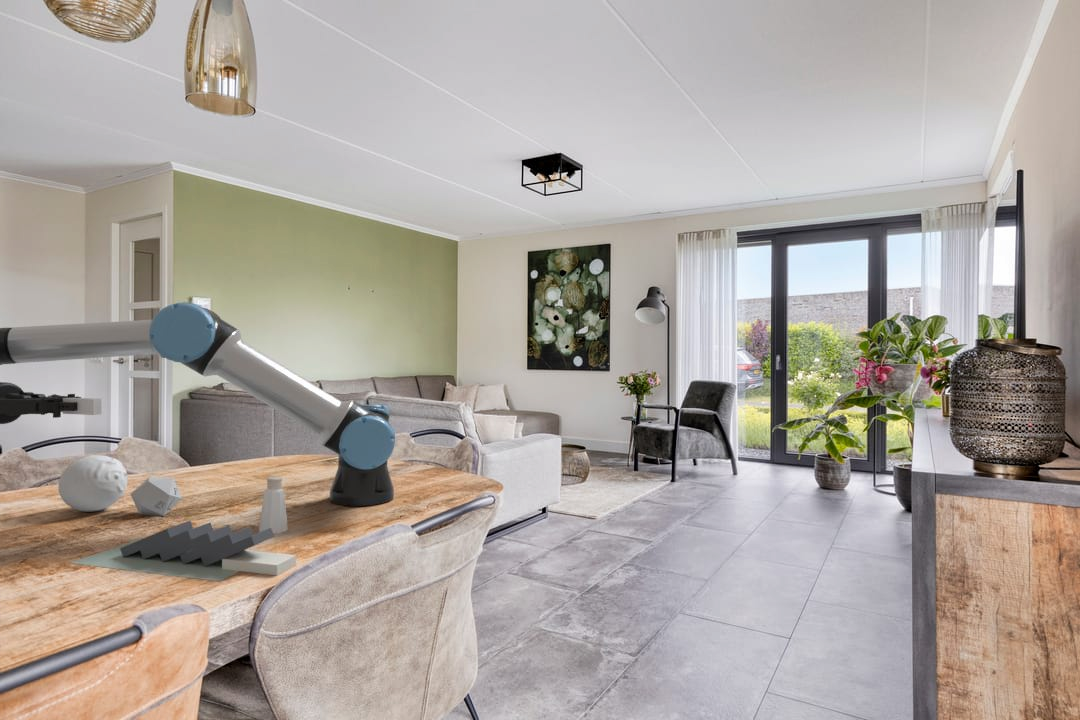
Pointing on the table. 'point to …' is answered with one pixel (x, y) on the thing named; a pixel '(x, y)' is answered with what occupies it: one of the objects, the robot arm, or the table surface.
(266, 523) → the salt shaker
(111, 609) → the table surface
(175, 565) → the felt mat
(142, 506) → the die
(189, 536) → the domino
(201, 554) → the domino
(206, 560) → the domino
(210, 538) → the domino
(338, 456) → the robot arm
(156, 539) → the domino
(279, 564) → the domino
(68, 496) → the decorative ball
